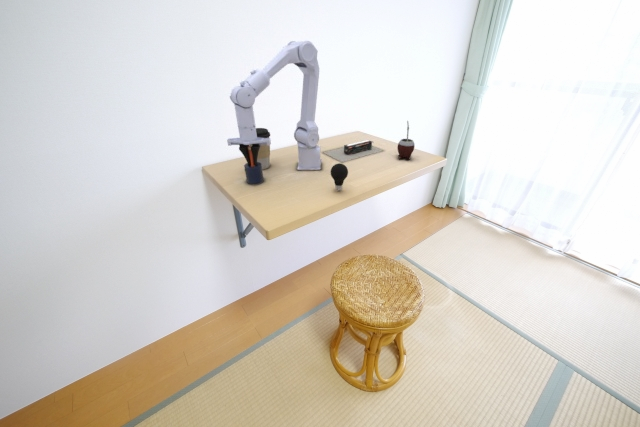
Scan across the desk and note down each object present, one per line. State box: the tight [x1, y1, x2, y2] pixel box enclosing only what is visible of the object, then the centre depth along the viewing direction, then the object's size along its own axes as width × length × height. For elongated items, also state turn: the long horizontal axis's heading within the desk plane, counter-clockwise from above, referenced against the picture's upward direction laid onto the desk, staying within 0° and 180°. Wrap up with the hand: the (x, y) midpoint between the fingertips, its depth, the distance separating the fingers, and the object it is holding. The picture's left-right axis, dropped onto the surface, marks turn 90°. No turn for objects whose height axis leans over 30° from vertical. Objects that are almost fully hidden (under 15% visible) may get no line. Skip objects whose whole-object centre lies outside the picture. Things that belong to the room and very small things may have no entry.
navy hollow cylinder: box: [243, 162, 265, 186], centre depth 96 cm, size 6×6×6 cm
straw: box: [248, 146, 255, 167], centre depth 93 cm, size 2×2×9 cm
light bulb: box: [330, 162, 349, 192], centre depth 88 cm, size 6×6×10 cm
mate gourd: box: [396, 120, 415, 161], centre depth 113 cm, size 8×8×15 cm
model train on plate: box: [323, 139, 383, 163], centre depth 123 cm, size 14×25×4 cm, turn 124°
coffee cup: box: [249, 127, 271, 170], centre depth 105 cm, size 9×9×15 cm
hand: (252, 164), depth 94 cm, fingers closed on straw, 1 cm apart
